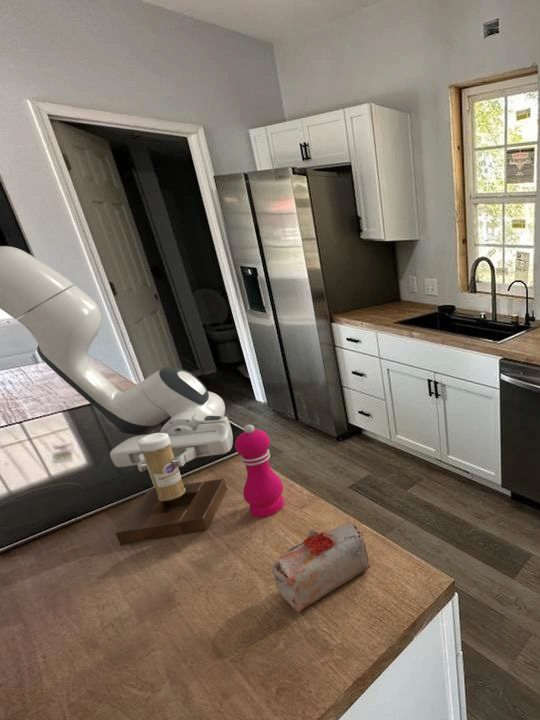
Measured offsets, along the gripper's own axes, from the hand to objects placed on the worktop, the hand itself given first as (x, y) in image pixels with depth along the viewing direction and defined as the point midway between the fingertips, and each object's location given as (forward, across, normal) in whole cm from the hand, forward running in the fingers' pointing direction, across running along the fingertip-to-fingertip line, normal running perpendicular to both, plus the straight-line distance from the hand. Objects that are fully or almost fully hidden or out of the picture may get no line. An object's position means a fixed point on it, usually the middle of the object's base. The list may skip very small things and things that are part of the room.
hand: (160, 466), depth 80 cm
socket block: (-1, 0, +12) cm, 12 cm away
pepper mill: (+2, +17, +13) cm, 21 cm away
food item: (+27, +30, +13) cm, 42 cm away
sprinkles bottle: (-1, 0, +8) cm, 8 cm away
